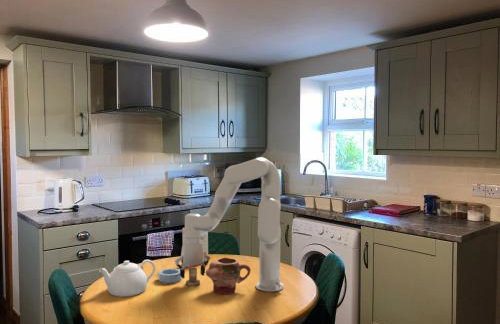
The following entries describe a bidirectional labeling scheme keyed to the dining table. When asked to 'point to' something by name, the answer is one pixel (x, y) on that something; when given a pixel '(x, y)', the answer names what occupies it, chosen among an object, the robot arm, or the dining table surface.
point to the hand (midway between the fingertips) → (192, 276)
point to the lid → (192, 277)
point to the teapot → (127, 279)
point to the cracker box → (204, 243)
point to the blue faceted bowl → (169, 276)
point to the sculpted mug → (226, 274)
